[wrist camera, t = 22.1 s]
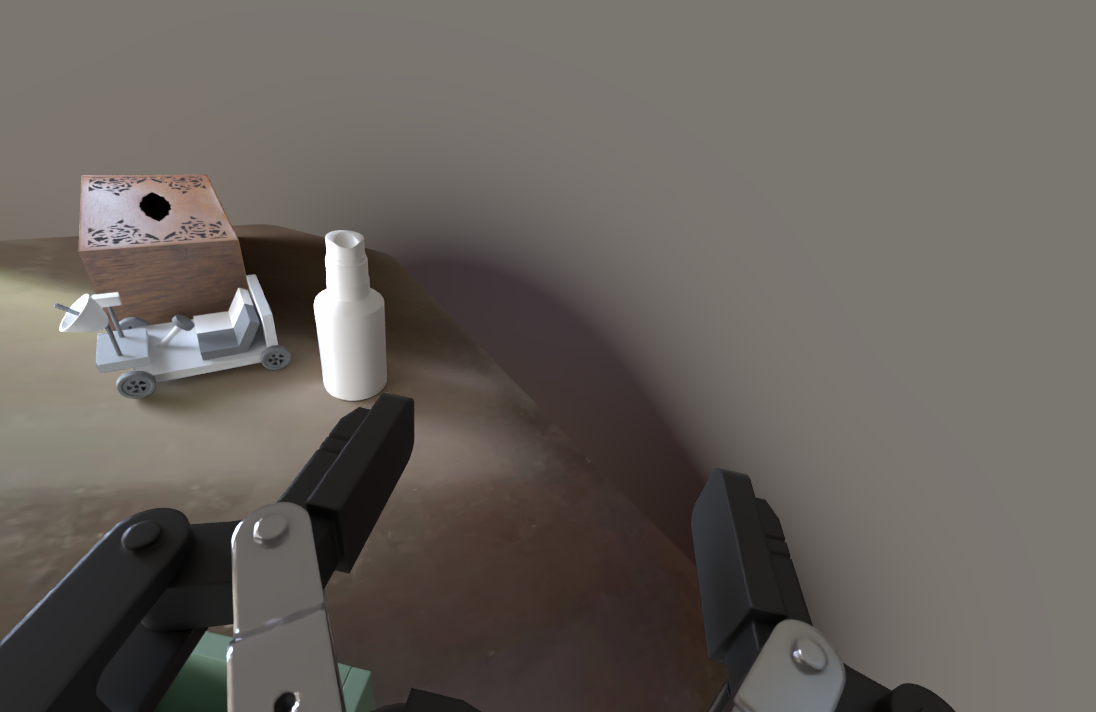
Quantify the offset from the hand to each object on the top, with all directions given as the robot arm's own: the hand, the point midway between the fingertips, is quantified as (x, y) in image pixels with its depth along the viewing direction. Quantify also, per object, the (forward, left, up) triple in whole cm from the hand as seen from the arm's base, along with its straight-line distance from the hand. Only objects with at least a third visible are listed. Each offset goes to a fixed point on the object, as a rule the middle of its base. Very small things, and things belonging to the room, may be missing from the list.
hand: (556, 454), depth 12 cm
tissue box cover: (+72, -5, -28) cm, 77 cm away
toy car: (+51, -1, -28) cm, 58 cm away
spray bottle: (+37, -13, -28) cm, 48 cm away
